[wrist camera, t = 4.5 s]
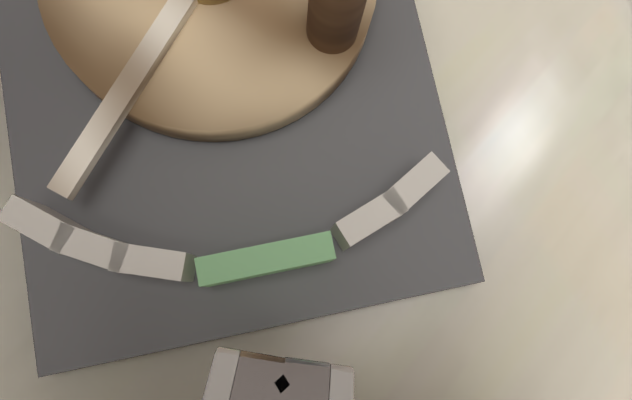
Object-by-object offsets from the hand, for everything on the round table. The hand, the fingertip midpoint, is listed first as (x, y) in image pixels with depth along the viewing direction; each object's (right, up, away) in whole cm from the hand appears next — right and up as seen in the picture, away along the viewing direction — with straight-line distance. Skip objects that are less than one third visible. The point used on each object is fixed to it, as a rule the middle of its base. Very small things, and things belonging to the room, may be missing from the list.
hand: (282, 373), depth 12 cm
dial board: (-4, +11, +16) cm, 20 cm away
